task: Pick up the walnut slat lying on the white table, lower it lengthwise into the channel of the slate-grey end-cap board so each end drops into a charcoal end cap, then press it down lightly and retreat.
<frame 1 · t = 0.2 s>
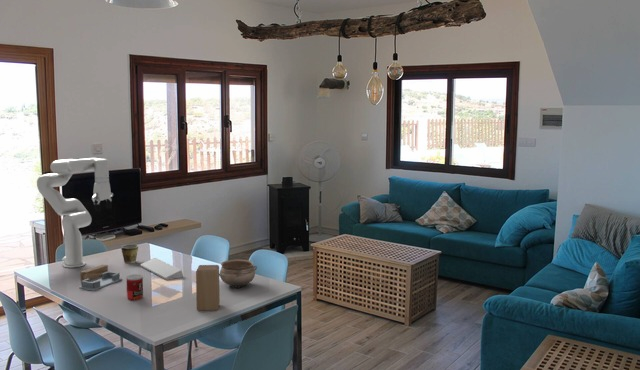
hand: (103, 209, 324), 36 cm above the table, tool pointing down, fingers open, 9 cm apart
slat: (94, 277, 316), on the table
wooden block: (208, 308, 269), on the table
ceramic cup: (129, 261, 348), on the table
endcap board: (101, 283, 303), on the table
canned food: (135, 298, 281), on the table
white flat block: (161, 273, 327), on the table
cooking pot: (237, 285, 304), on the table
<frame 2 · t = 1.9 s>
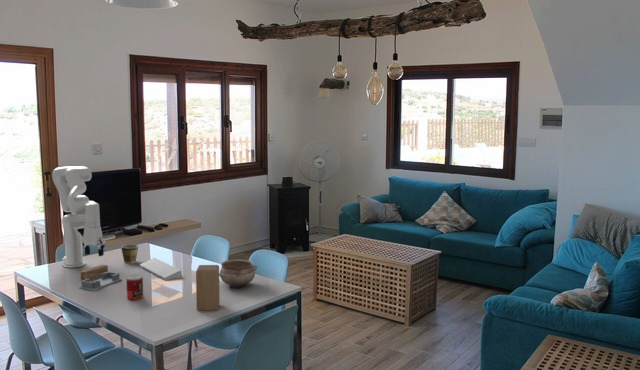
hand: (94, 255, 314), 13 cm above the table, tool pointing down, fingers open, 9 cm apart
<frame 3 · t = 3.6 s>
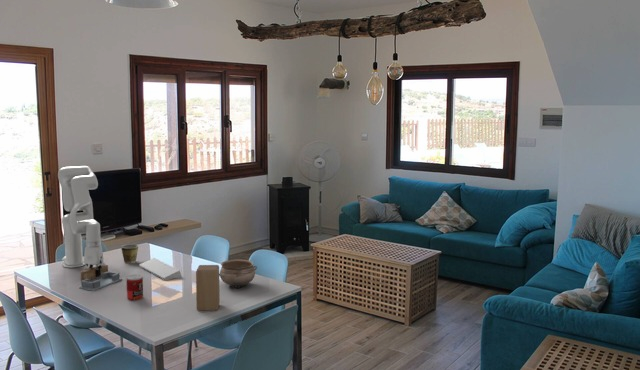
hand: (94, 275, 316), 1 cm above the table, tool pointing down, fingers closed on slat, 4 cm apart
slat: (95, 276, 316), on the table, touching gripper
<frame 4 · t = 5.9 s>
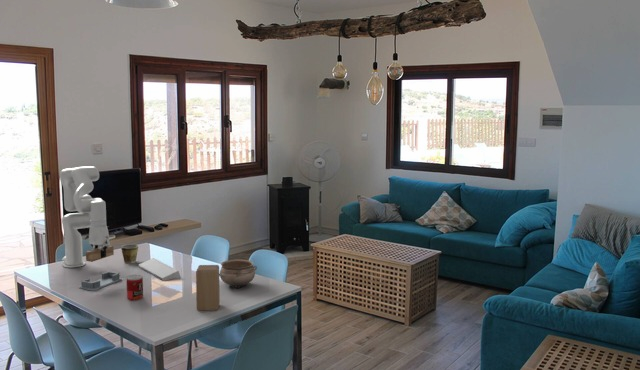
hand: (100, 256, 301), 15 cm above the table, tool pointing down, fingers closed on slat, 4 cm apart
slat: (100, 257, 301), point 14 cm above the table, touching gripper
when the fingers open (2 cm above the table, at t = 8.5 s): slat stays where it is, resting on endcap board.
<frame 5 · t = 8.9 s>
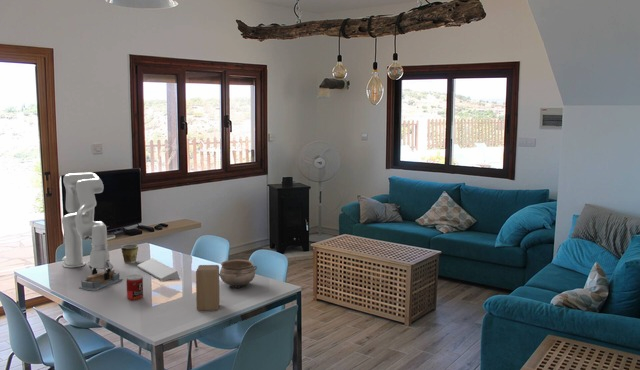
hand: (100, 278, 303), 3 cm above the table, tool pointing down, fingers open, 7 cm apart
slat: (101, 282, 303), point 1 cm above the table, touching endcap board
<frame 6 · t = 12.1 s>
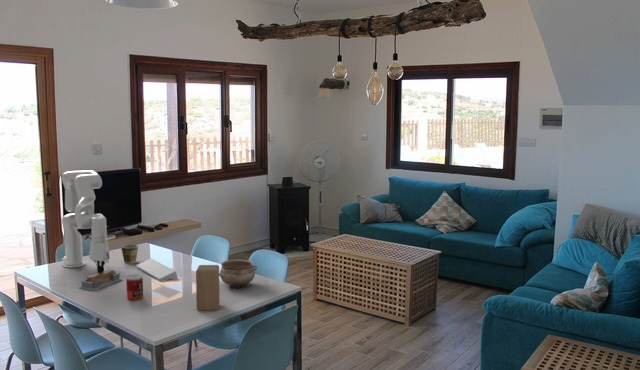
hand: (100, 272, 303), 6 cm above the table, tool pointing down, fingers closed
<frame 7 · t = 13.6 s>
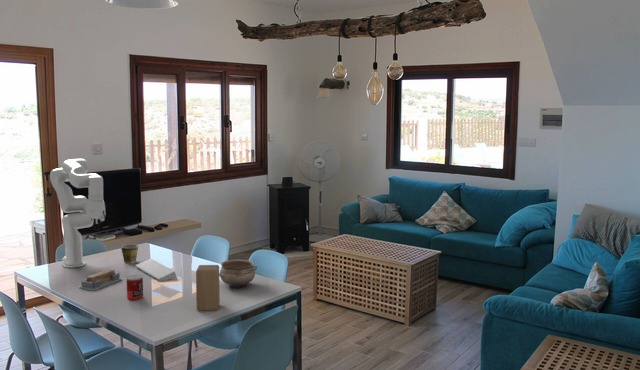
hand: (96, 230, 313), 27 cm above the table, tool pointing down, fingers closed
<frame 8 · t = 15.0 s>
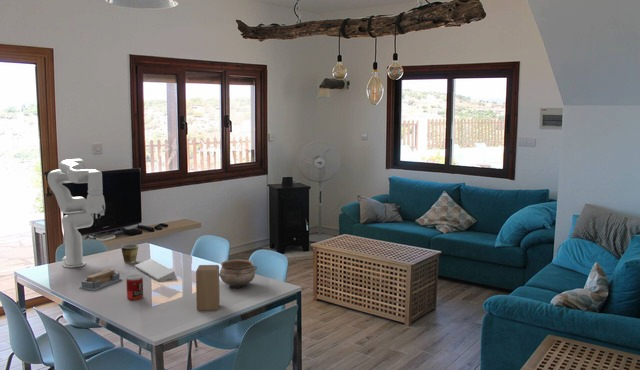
hand: (96, 224, 315), 29 cm above the table, tool pointing down, fingers closed
at the end: slat 0.1 cm off-centre on the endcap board, point 0.8 cm above the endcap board's base; slat point 0.8 cm above the table; the gripper is holding nothing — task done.
